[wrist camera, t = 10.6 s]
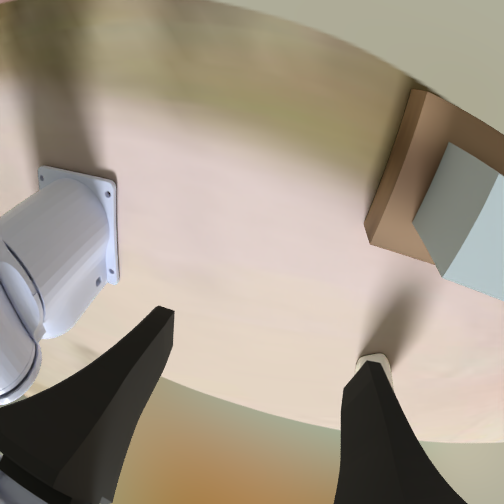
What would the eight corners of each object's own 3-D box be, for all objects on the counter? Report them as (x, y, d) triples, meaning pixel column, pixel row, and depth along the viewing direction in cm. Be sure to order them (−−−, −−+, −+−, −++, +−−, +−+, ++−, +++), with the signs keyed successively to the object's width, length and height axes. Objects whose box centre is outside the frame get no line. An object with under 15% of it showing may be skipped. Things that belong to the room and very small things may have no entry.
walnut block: (465, 256, 19) (481, 280, 16) (362, 220, 19) (369, 244, 16) (515, 147, 14) (540, 162, 11) (409, 88, 14) (427, 91, 11)
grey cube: (473, 249, 15) (507, 302, 11) (411, 223, 15) (442, 277, 11) (509, 180, 12) (558, 219, 8) (448, 141, 12) (498, 173, 8)
